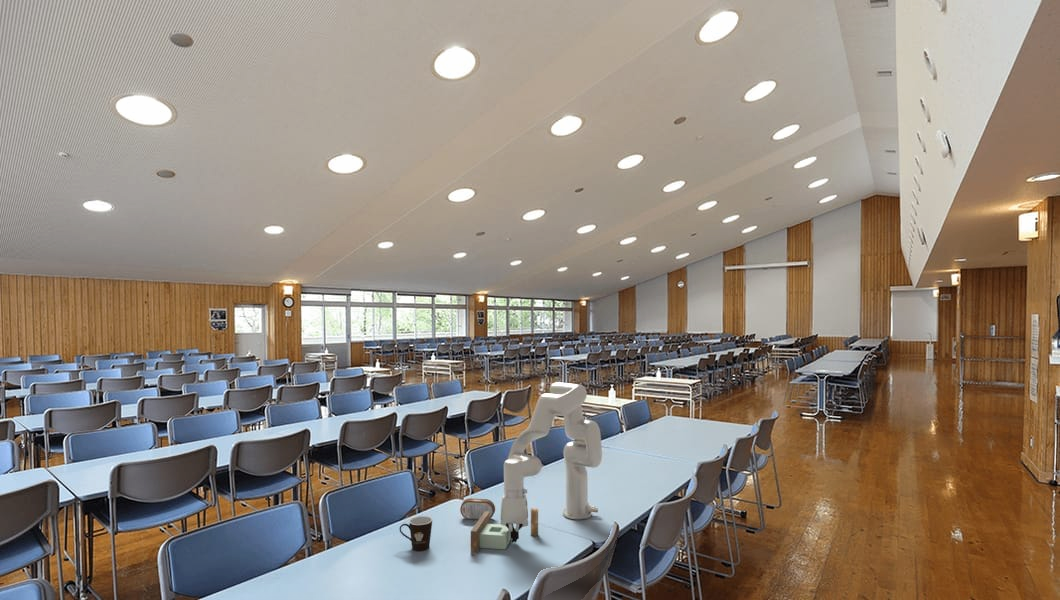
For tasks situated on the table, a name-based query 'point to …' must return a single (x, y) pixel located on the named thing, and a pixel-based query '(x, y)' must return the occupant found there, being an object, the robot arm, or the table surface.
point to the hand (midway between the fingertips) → (514, 540)
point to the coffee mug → (419, 532)
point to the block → (494, 536)
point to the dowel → (534, 522)
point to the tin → (476, 508)
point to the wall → (478, 531)
